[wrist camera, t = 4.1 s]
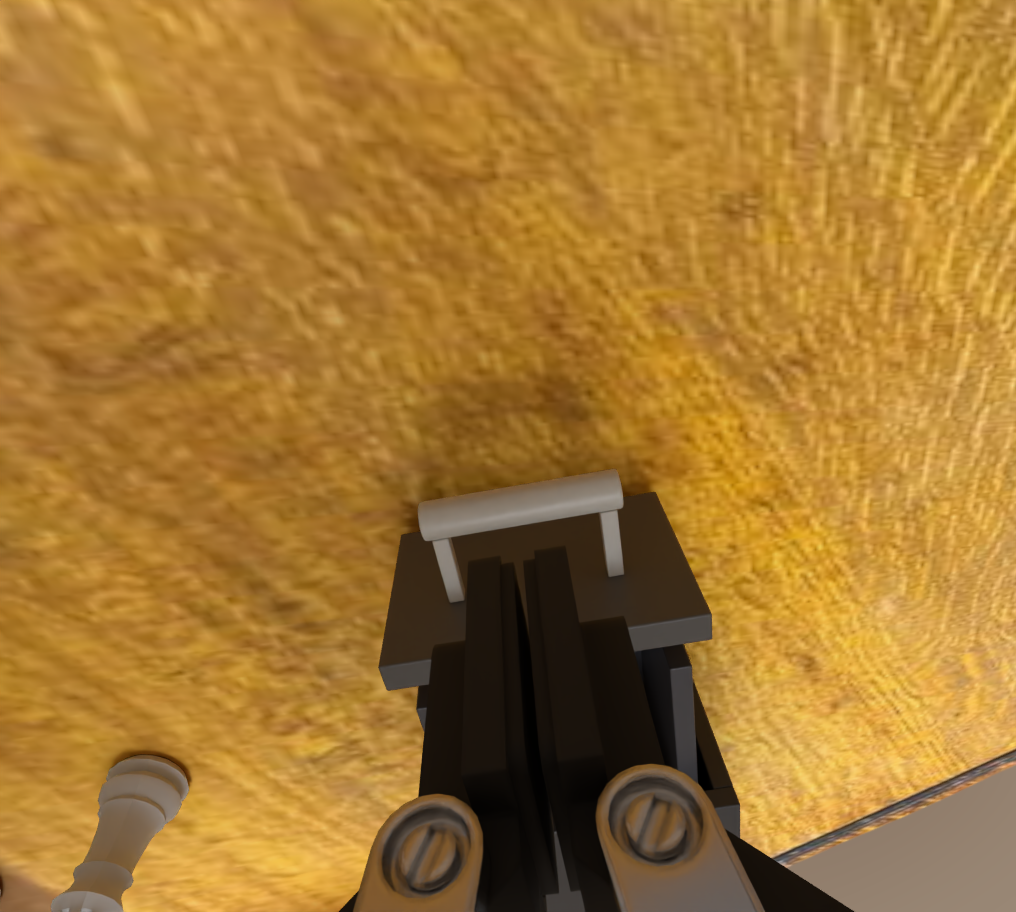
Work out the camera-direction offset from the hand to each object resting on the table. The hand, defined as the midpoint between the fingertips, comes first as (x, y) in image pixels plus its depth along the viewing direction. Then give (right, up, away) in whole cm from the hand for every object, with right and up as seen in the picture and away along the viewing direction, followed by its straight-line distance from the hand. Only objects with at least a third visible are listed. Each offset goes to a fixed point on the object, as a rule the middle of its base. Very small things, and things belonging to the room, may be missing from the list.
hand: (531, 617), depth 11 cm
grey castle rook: (-21, -16, +26) cm, 37 cm away
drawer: (+1, -4, +20) cm, 20 cm away
